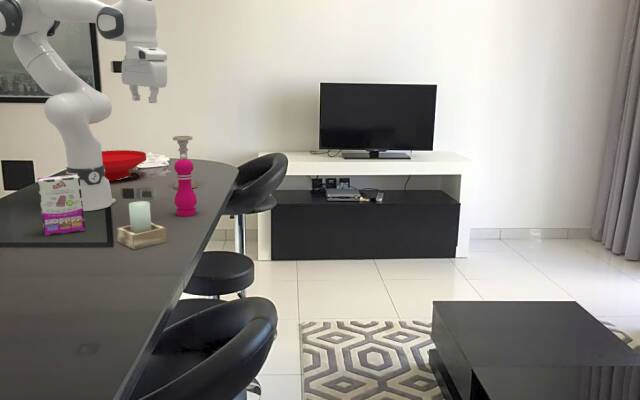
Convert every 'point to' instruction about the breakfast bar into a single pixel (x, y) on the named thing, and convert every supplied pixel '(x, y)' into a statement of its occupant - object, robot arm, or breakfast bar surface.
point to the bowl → (121, 162)
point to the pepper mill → (184, 188)
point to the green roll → (140, 216)
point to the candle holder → (183, 151)
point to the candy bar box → (61, 204)
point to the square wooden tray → (141, 237)
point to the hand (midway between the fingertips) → (144, 101)
